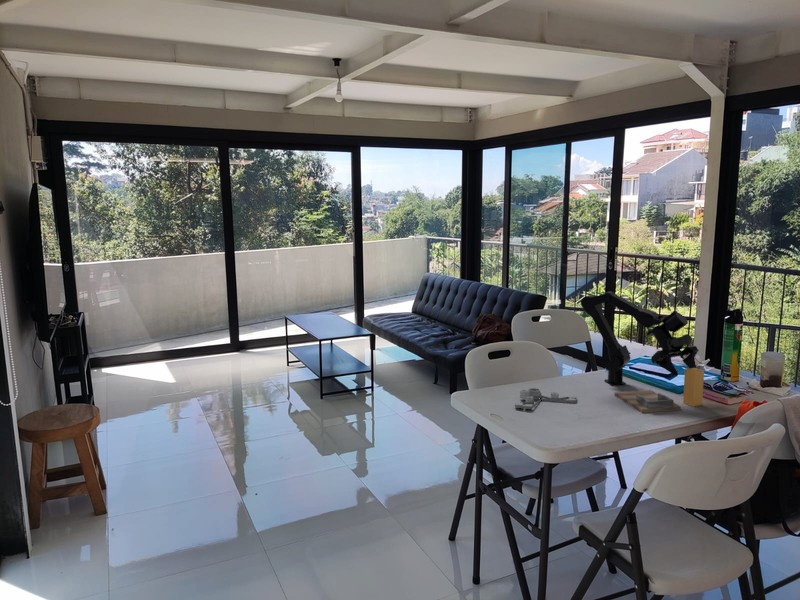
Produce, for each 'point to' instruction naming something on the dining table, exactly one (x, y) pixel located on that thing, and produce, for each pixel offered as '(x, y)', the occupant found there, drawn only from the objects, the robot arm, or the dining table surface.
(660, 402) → the keeper
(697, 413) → the dining table surface
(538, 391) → the pulley system
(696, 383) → the block
